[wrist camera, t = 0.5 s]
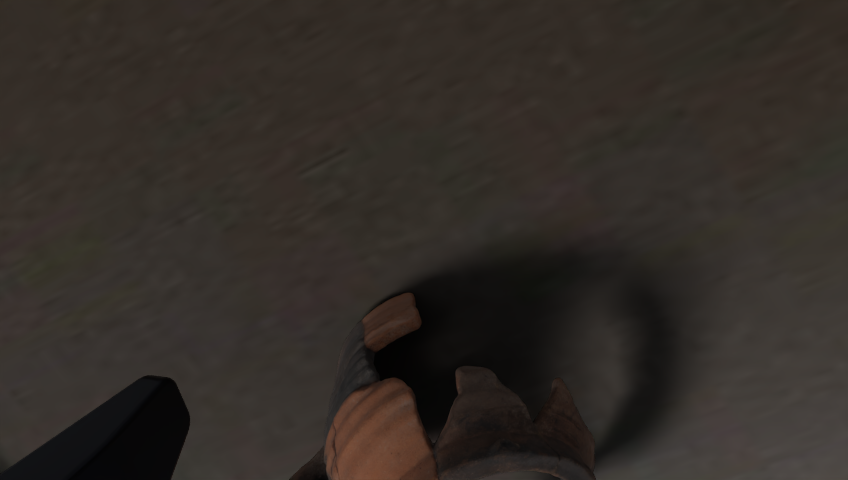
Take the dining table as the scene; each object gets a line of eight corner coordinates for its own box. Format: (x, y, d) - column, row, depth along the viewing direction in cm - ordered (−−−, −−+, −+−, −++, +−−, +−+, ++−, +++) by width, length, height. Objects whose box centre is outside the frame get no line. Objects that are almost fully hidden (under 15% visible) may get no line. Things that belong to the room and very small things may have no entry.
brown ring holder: (458, 223, 27) (540, 381, 20) (577, 365, 32) (675, 529, 25) (201, 409, 28) (196, 612, 22) (354, 515, 34) (388, 706, 27)
